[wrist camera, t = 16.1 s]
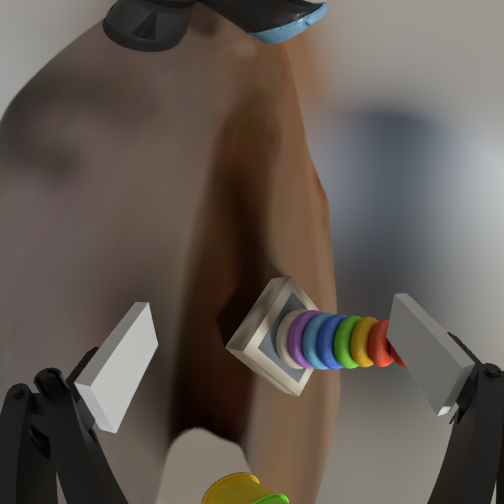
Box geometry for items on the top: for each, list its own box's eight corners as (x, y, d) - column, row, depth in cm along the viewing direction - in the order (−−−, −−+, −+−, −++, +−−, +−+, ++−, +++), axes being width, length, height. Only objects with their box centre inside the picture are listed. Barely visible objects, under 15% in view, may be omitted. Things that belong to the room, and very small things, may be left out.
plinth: (271, 278, 40) (291, 275, 36) (314, 327, 43) (334, 328, 40) (224, 347, 33) (243, 351, 30) (279, 391, 37) (299, 396, 34)
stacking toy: (285, 379, 33) (424, 401, 18) (264, 327, 32) (417, 330, 18) (320, 347, 38) (445, 351, 23) (304, 299, 37) (438, 286, 22)
